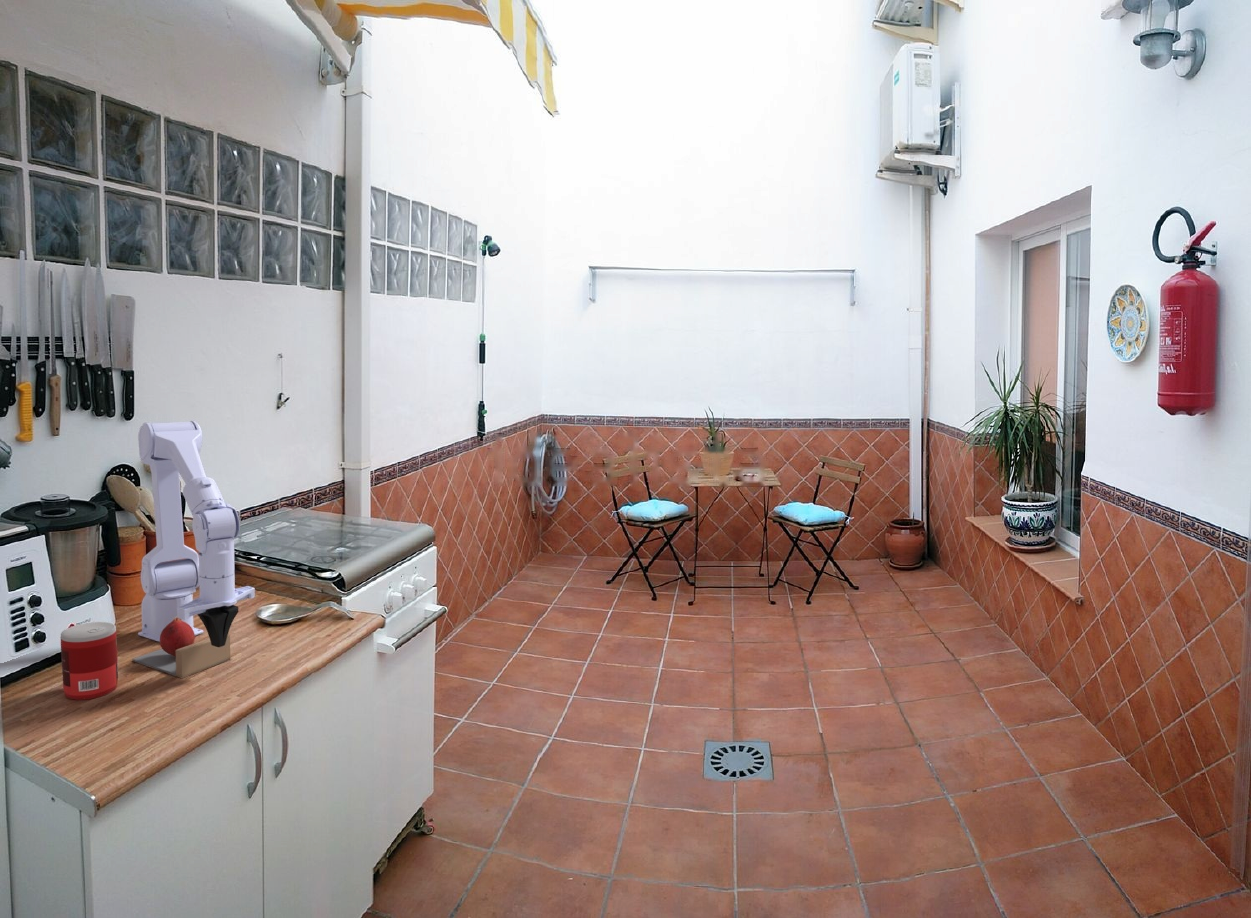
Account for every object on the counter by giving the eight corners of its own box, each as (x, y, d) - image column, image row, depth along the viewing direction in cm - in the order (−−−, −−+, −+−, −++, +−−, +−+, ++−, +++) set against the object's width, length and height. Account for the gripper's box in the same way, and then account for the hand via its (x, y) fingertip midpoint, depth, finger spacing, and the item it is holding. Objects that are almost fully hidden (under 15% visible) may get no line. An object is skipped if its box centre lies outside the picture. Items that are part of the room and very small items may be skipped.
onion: (179, 664, 150) (178, 623, 149) (152, 660, 151) (151, 619, 150) (201, 653, 156) (201, 613, 155) (175, 649, 157) (174, 609, 156)
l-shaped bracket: (132, 660, 152) (131, 635, 151) (181, 643, 161) (180, 619, 160) (182, 678, 146) (181, 652, 145) (230, 659, 155) (229, 634, 154)
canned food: (129, 685, 142) (126, 626, 140) (85, 704, 135) (82, 641, 133) (97, 677, 144) (94, 618, 143) (52, 695, 137) (49, 633, 135)
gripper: (195, 588, 138) (197, 663, 140) (266, 568, 151) (266, 637, 153) (168, 580, 141) (170, 654, 143) (239, 561, 154) (240, 629, 156)
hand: (218, 645), depth 148 cm, fingers closed
